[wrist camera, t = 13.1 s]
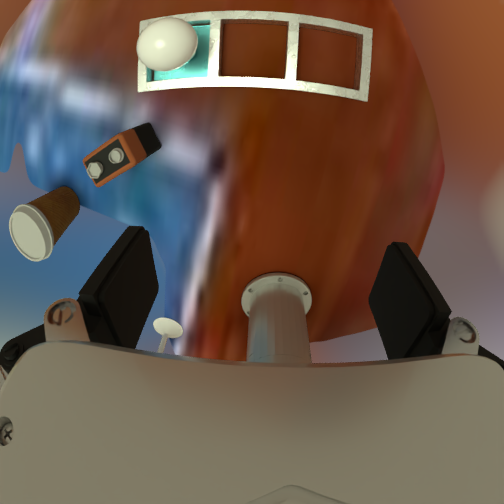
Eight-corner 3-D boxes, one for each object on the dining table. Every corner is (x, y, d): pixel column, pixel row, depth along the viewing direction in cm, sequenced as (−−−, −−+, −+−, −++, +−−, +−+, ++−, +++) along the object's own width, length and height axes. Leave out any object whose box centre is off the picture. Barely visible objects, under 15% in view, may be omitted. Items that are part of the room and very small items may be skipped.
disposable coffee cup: (86, 181, 38) (42, 215, 28) (88, 230, 43) (52, 271, 33) (47, 174, 37) (3, 203, 27) (50, 220, 42) (13, 255, 32)
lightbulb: (178, 83, 30) (144, 82, 20) (155, 49, 27) (116, 39, 18) (220, 57, 28) (201, 44, 19) (196, 23, 25) (169, 0, 16)
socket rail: (360, 100, 30) (367, 101, 28) (145, 91, 30) (138, 92, 28) (365, 32, 24) (372, 29, 22) (147, 24, 25) (140, 21, 22)
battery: (114, 143, 34) (76, 162, 26) (150, 120, 33) (116, 133, 24) (126, 167, 37) (92, 192, 28) (163, 147, 35) (133, 167, 27)
